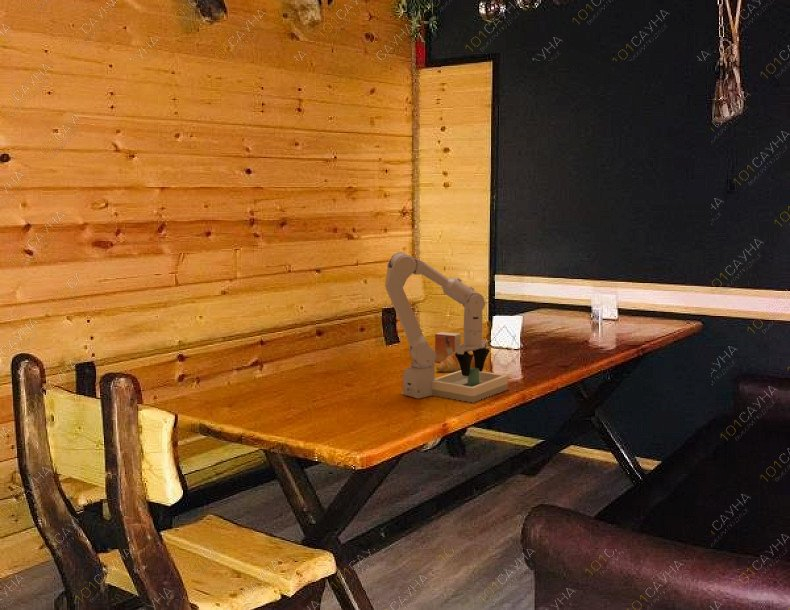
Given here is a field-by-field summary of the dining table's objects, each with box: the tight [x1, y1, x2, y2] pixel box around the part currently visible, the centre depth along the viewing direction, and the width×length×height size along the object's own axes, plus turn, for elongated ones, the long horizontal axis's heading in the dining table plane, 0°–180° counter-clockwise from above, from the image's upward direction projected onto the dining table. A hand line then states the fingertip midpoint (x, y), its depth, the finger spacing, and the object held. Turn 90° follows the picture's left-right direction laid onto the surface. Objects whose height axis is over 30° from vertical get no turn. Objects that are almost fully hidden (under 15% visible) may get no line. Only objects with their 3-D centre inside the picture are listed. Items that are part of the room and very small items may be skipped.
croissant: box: [435, 351, 475, 373], centre depth 287 cm, size 21×10×8 cm, turn 129°
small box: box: [434, 331, 462, 363], centre depth 298 cm, size 8×6×10 cm
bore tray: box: [432, 370, 509, 404], centre depth 255 cm, size 20×16×4 cm
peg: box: [468, 367, 479, 387], centre depth 256 cm, size 4×4×7 cm
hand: (472, 373), depth 256 cm, fingers open, 7 cm apart
